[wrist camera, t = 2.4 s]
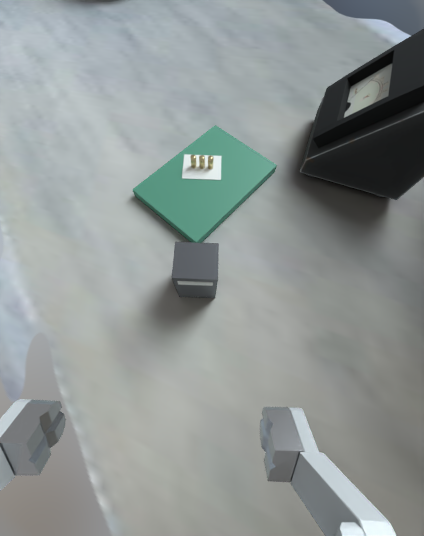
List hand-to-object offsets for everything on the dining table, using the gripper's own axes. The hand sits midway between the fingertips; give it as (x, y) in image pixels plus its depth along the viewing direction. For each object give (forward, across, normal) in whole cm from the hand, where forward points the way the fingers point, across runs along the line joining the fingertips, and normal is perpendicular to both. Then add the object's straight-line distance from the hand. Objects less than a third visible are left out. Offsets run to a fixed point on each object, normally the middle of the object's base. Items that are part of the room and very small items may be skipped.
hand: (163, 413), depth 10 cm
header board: (+36, -1, -7) cm, 37 cm away
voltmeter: (+42, -26, -12) cm, 51 cm away
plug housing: (+24, 0, +6) cm, 25 cm away
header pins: (+37, 0, -9) cm, 38 cm away
